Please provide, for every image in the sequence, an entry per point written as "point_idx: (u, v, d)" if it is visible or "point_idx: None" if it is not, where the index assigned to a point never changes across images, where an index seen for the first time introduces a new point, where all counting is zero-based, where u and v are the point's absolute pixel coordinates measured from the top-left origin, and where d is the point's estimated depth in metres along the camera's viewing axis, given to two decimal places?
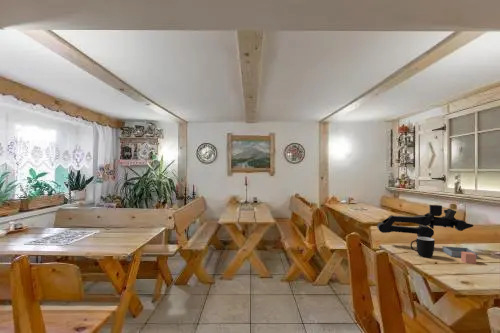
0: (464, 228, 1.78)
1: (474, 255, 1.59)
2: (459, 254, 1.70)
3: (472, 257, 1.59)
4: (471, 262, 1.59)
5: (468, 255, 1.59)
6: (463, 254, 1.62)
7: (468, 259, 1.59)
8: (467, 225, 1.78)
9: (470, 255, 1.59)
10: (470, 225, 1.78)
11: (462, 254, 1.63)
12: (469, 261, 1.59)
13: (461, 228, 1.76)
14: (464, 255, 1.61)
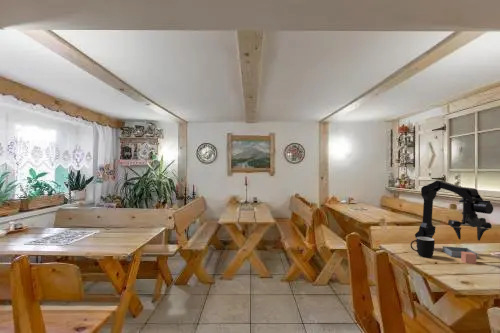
0: (454, 228, 1.65)
1: (474, 255, 1.59)
2: (459, 254, 1.70)
3: (472, 257, 1.59)
4: (471, 262, 1.59)
5: (468, 255, 1.59)
6: (463, 254, 1.62)
7: (468, 259, 1.59)
8: (457, 232, 1.63)
9: (470, 255, 1.59)
10: (458, 236, 1.63)
11: (462, 254, 1.63)
12: (469, 261, 1.59)
13: (448, 223, 1.65)
14: (464, 255, 1.61)
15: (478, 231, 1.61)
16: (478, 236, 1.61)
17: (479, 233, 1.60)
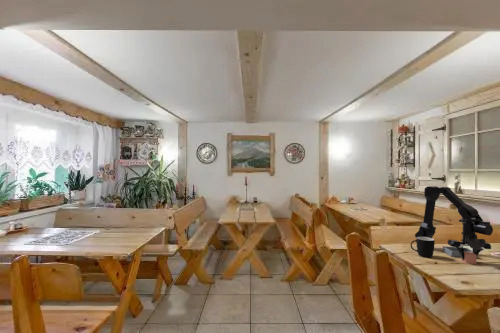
0: (457, 248, 1.64)
1: (474, 255, 1.59)
2: (459, 254, 1.70)
3: (472, 257, 1.59)
4: (471, 262, 1.59)
5: (468, 255, 1.59)
6: None
7: (468, 258, 1.59)
8: (460, 252, 1.62)
9: (470, 255, 1.59)
10: (461, 256, 1.62)
11: None
12: (469, 261, 1.59)
13: (448, 243, 1.65)
14: (464, 255, 1.61)
15: (474, 251, 1.62)
16: None
17: (475, 253, 1.61)
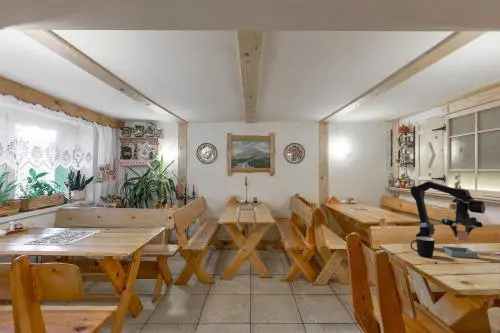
0: (451, 227, 1.75)
1: (466, 233, 1.69)
2: (459, 254, 1.70)
3: (464, 234, 1.70)
4: (463, 239, 1.70)
5: (460, 233, 1.70)
6: None
7: (460, 236, 1.70)
8: (453, 231, 1.73)
9: (462, 233, 1.70)
10: (454, 234, 1.73)
11: None
12: (461, 238, 1.70)
13: (442, 222, 1.76)
14: (457, 233, 1.72)
15: (466, 229, 1.72)
16: None
17: (467, 231, 1.71)
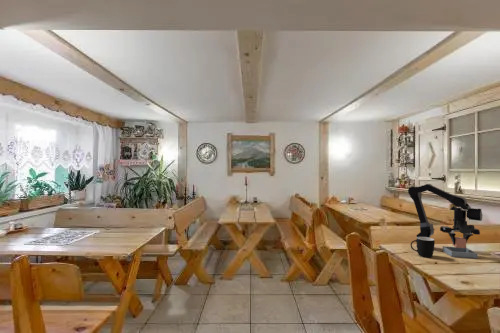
0: (449, 234, 1.78)
1: (464, 240, 1.72)
2: (459, 254, 1.70)
3: (462, 242, 1.72)
4: (461, 246, 1.73)
5: (459, 240, 1.73)
6: None
7: (458, 243, 1.73)
8: (452, 238, 1.76)
9: (460, 240, 1.73)
10: (452, 241, 1.76)
11: None
12: (459, 245, 1.73)
13: (440, 229, 1.78)
14: (455, 240, 1.74)
15: (464, 236, 1.75)
16: None
17: (465, 238, 1.74)
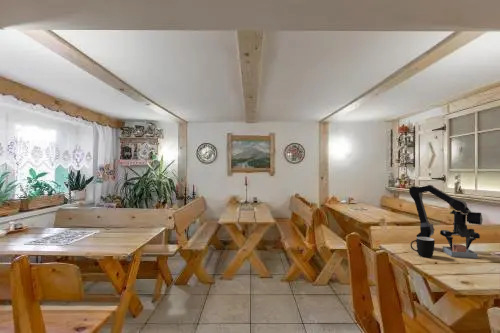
0: (446, 238, 1.78)
1: (464, 247, 1.72)
2: (459, 254, 1.70)
3: (462, 249, 1.72)
4: None
5: (459, 247, 1.73)
6: (454, 246, 1.75)
7: (458, 250, 1.73)
8: (449, 242, 1.76)
9: (460, 247, 1.73)
10: (450, 245, 1.76)
11: (453, 246, 1.77)
12: None
13: (440, 233, 1.78)
14: (455, 247, 1.74)
15: (467, 240, 1.75)
16: (467, 245, 1.74)
17: (467, 242, 1.74)
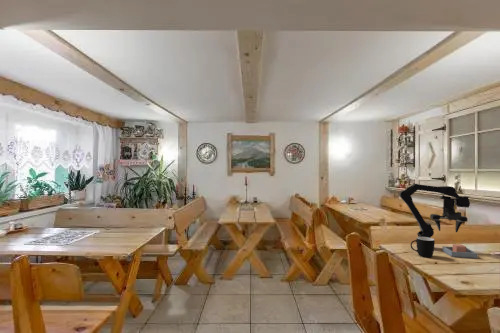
0: (435, 221, 1.88)
1: (464, 247, 1.72)
2: (459, 254, 1.70)
3: (462, 249, 1.72)
4: None
5: (459, 247, 1.73)
6: (454, 246, 1.75)
7: (458, 250, 1.73)
8: (437, 225, 1.86)
9: (460, 247, 1.73)
10: (438, 228, 1.86)
11: (453, 246, 1.77)
12: None
13: (430, 217, 1.89)
14: (455, 247, 1.74)
15: (456, 224, 1.84)
16: (456, 228, 1.84)
17: (457, 226, 1.83)
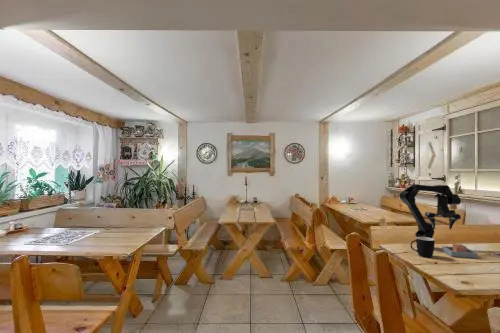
0: (430, 219, 1.94)
1: (464, 247, 1.72)
2: (459, 254, 1.70)
3: (462, 249, 1.72)
4: None
5: (459, 247, 1.73)
6: (454, 246, 1.75)
7: (458, 250, 1.73)
8: (432, 222, 1.92)
9: (460, 247, 1.73)
10: (433, 225, 1.91)
11: (453, 246, 1.77)
12: None
13: (425, 215, 1.94)
14: (455, 247, 1.74)
15: (450, 221, 1.90)
16: (450, 226, 1.89)
17: (450, 223, 1.89)
